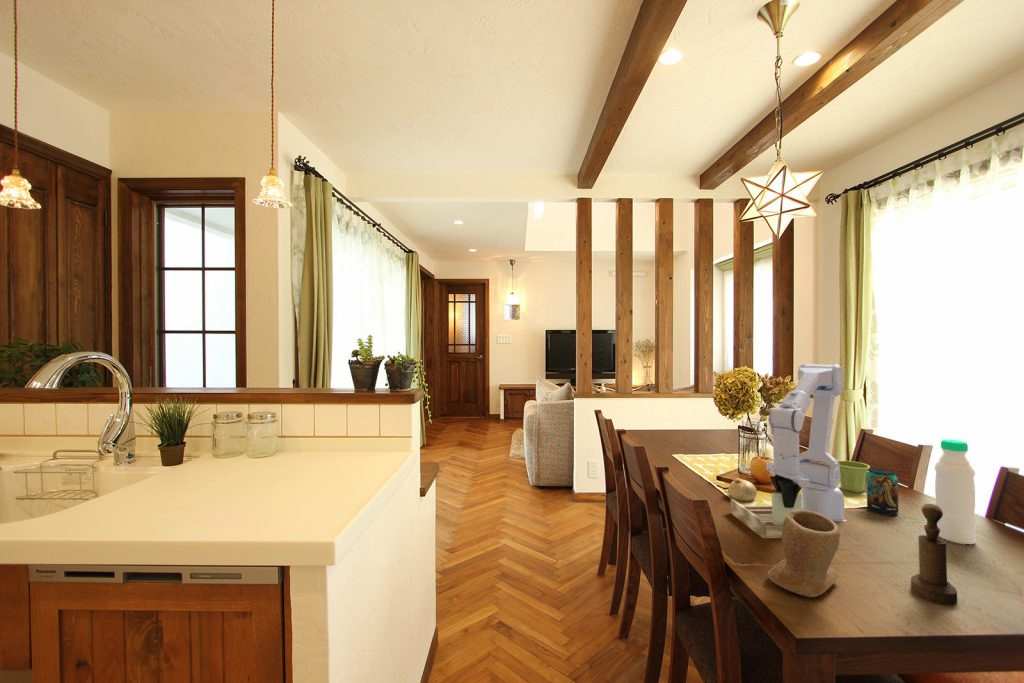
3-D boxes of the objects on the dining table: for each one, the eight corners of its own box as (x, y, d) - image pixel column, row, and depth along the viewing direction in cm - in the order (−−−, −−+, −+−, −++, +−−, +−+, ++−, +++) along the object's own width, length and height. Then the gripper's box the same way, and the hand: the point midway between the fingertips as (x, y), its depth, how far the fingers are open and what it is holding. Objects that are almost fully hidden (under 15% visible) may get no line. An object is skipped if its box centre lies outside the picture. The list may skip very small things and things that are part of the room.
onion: (734, 494, 142) (734, 472, 142) (760, 500, 136) (760, 478, 136) (724, 500, 137) (724, 477, 137) (751, 506, 131) (751, 483, 131)
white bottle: (966, 536, 110) (965, 439, 110) (982, 548, 103) (981, 445, 104) (930, 531, 113) (929, 436, 113) (943, 542, 106) (942, 442, 107)
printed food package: (878, 515, 123) (877, 474, 123) (861, 506, 130) (860, 467, 130) (904, 516, 122) (904, 474, 122) (886, 507, 129) (885, 467, 129)
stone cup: (825, 612, 79) (824, 532, 80) (759, 583, 89) (758, 511, 89) (857, 586, 88) (856, 513, 88) (793, 562, 98) (792, 496, 98)
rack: (730, 515, 125) (730, 499, 125) (784, 514, 124) (784, 499, 124) (762, 540, 109) (762, 522, 109) (824, 539, 108) (823, 521, 108)
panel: (771, 523, 112) (771, 492, 112) (798, 523, 112) (798, 492, 112) (774, 525, 110) (774, 494, 110) (801, 525, 110) (801, 494, 110)
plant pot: (845, 493, 141) (844, 467, 141) (829, 484, 151) (828, 459, 151) (877, 495, 140) (876, 468, 140) (858, 485, 149) (858, 460, 149)
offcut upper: (751, 517, 119) (751, 513, 119) (789, 518, 118) (789, 514, 118) (758, 523, 115) (758, 519, 115) (797, 524, 114) (797, 520, 114)
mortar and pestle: (901, 586, 87) (900, 499, 88) (930, 585, 88) (929, 497, 88) (936, 606, 81) (935, 511, 81) (967, 604, 81) (965, 510, 81)
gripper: (755, 447, 118) (755, 496, 118) (788, 461, 104) (789, 517, 104) (780, 447, 118) (781, 496, 118) (817, 461, 104) (818, 517, 104)
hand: (786, 506), depth 111 cm, fingers closed on panel, 1 cm apart
